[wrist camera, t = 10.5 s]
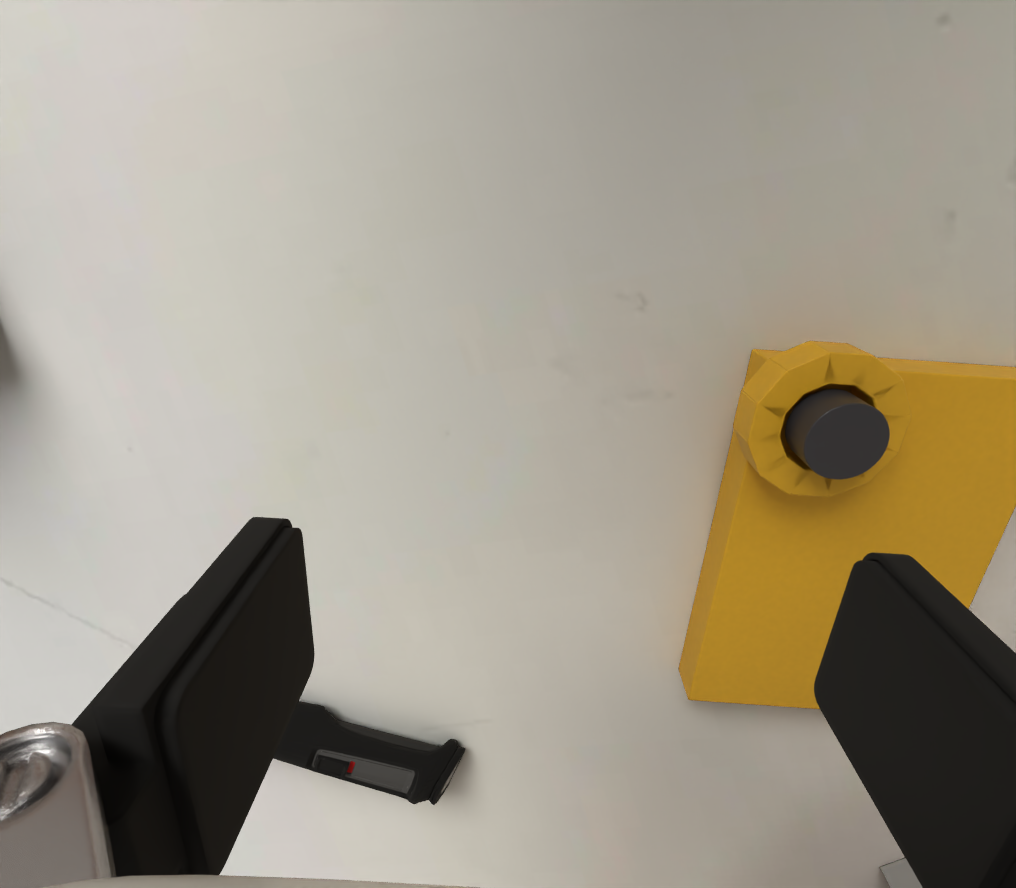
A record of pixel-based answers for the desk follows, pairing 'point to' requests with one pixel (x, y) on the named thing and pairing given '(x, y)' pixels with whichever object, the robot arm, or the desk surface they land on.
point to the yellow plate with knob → (842, 511)
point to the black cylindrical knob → (837, 433)
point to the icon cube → (900, 875)
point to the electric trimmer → (368, 755)
